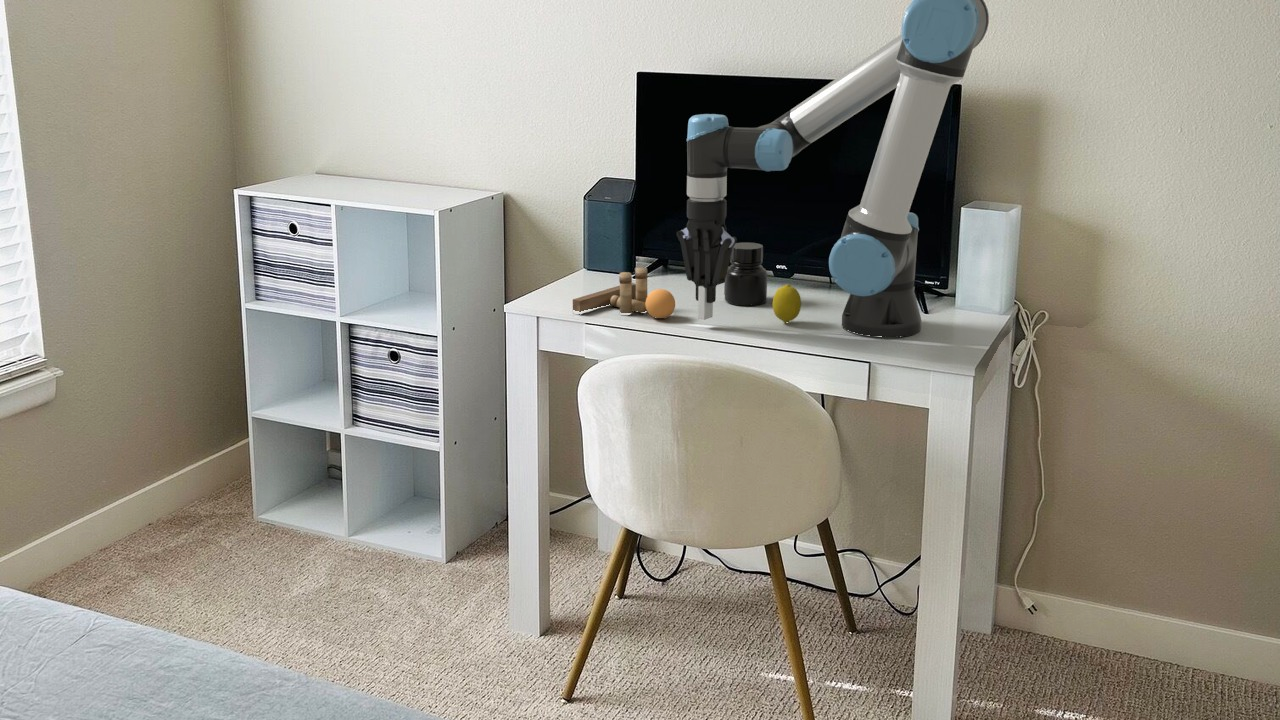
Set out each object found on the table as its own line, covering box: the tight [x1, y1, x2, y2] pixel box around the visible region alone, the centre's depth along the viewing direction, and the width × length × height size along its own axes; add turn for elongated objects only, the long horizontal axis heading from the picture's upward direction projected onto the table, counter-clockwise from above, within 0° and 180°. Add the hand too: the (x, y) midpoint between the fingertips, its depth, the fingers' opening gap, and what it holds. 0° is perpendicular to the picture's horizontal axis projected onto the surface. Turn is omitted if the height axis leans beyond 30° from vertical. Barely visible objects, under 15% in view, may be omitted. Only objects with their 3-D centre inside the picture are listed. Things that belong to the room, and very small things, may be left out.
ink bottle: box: [723, 242, 768, 307], centre depth 245 cm, size 10×9×12 cm
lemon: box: [772, 283, 802, 323], centre depth 230 cm, size 6×6×8 cm
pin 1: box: [618, 271, 633, 313], centre depth 237 cm, size 2×2×8 cm
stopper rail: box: [572, 282, 636, 312], centre depth 244 cm, size 2×18×3 cm, turn 141°
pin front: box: [610, 295, 648, 313], centre depth 240 cm, size 2×2×8 cm
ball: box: [645, 288, 676, 319], centre depth 234 cm, size 6×6×6 cm
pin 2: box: [634, 267, 649, 302], centre depth 240 cm, size 2×2×8 cm
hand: (705, 317), depth 228 cm, fingers closed
